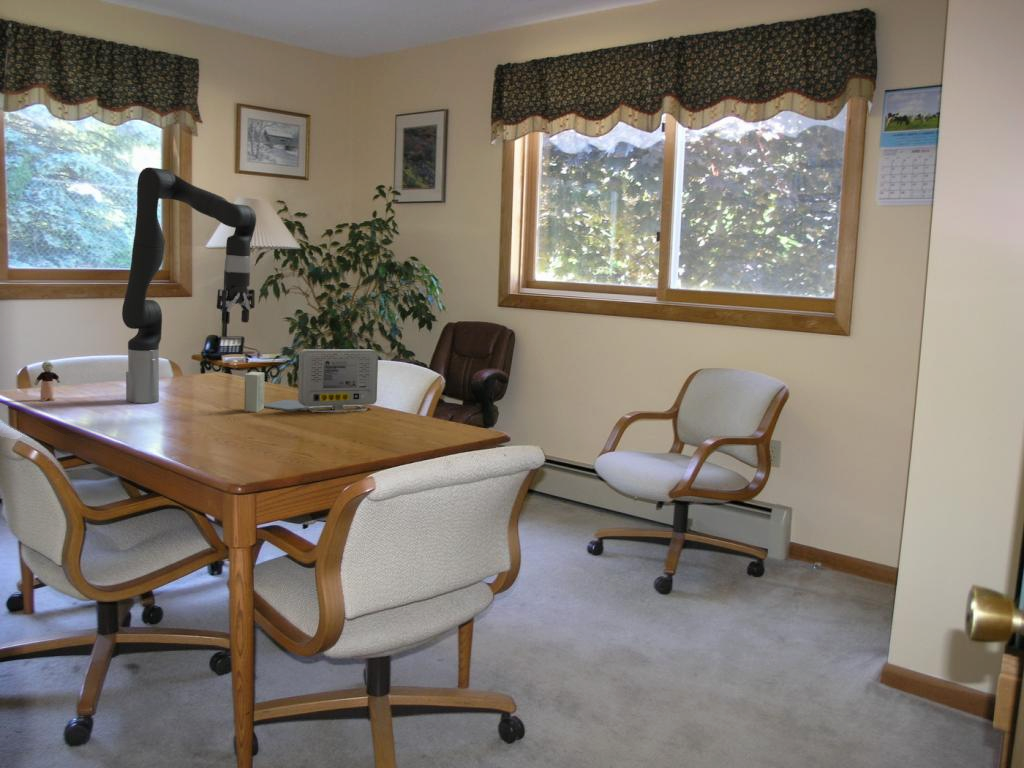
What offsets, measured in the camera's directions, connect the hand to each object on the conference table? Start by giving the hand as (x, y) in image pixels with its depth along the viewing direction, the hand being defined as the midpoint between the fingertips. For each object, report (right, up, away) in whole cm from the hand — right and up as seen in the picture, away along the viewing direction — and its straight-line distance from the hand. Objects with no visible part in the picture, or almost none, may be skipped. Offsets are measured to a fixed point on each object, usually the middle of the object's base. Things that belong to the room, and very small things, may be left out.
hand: (235, 322), depth 273 cm
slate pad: (+12, -26, +21) cm, 36 cm away
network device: (+28, -28, +19) cm, 44 cm away
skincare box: (+3, -28, +11) cm, 30 cm away
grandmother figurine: (-63, -24, +9) cm, 68 cm away
